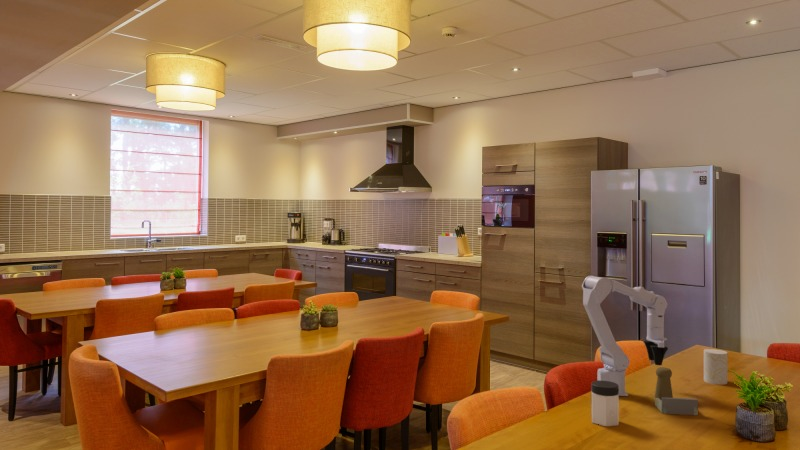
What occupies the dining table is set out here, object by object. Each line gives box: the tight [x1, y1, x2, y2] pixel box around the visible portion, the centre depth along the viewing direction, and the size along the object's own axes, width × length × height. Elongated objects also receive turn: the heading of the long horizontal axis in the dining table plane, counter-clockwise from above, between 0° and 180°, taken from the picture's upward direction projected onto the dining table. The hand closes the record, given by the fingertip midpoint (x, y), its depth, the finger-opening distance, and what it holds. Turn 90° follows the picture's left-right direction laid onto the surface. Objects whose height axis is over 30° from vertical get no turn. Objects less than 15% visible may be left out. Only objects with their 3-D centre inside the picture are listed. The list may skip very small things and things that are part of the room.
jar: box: [590, 380, 620, 427], centre depth 173 cm, size 9×8×12 cm
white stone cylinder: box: [703, 348, 728, 386], centre depth 217 cm, size 8×8×12 cm
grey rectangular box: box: [654, 397, 699, 416], centre depth 184 cm, size 11×8×5 cm
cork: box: [654, 366, 674, 401], centre depth 196 cm, size 6×6×11 cm
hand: (655, 362), depth 206 cm, fingers open, 7 cm apart
